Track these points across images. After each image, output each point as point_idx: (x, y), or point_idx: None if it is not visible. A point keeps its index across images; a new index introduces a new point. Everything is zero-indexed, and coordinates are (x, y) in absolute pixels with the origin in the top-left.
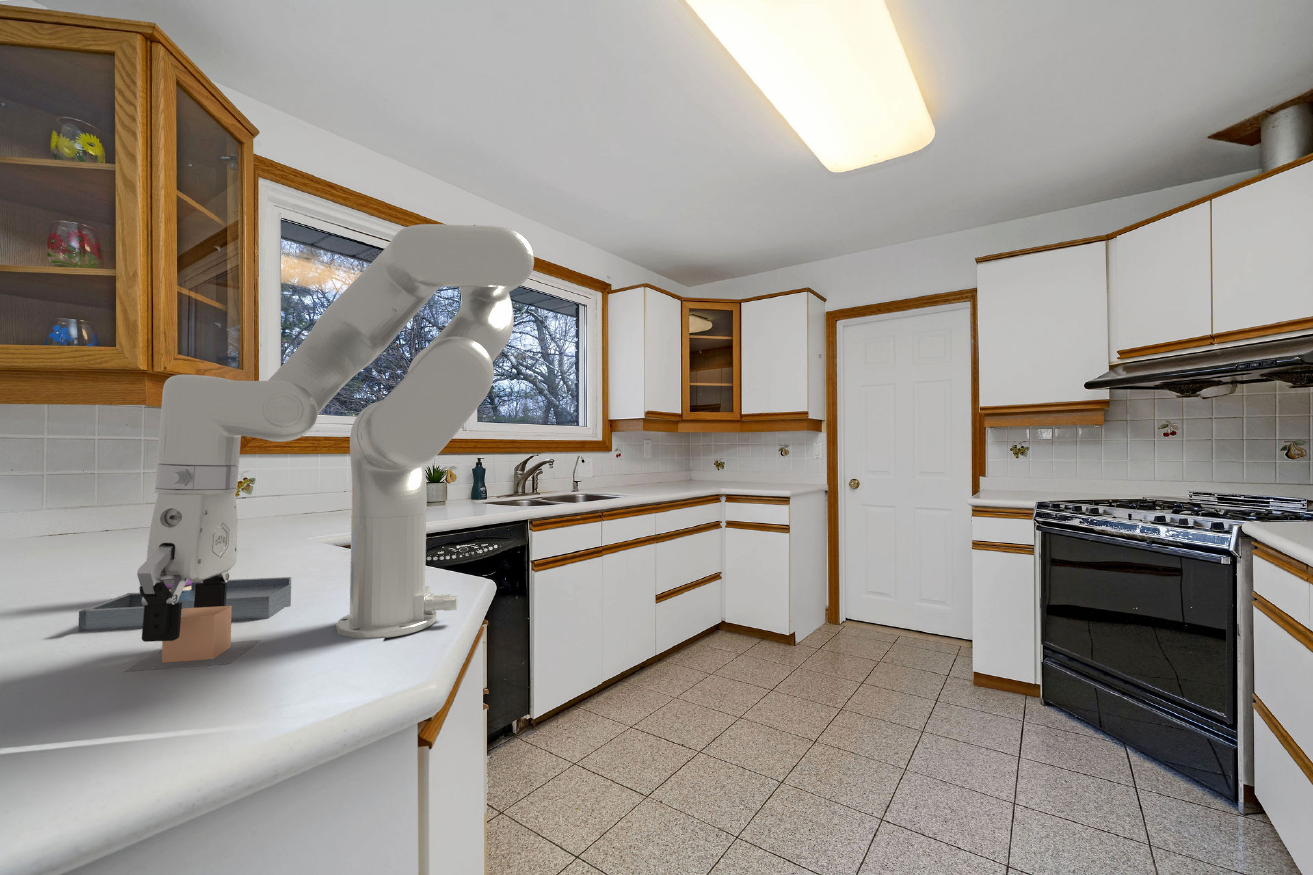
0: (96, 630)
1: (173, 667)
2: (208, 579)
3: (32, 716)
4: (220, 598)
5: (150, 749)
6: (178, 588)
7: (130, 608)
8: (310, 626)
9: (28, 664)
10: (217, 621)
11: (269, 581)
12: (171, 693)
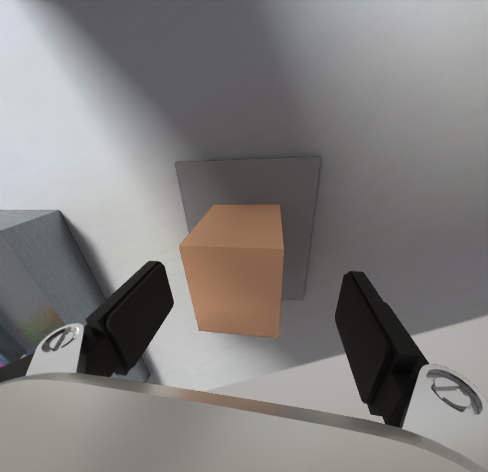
0: (144, 369)
1: (307, 247)
2: (103, 370)
3: (426, 320)
4: (139, 292)
5: None
6: (463, 443)
7: (115, 376)
8: (60, 95)
9: (235, 375)
10: (265, 235)
11: None
12: (437, 197)
